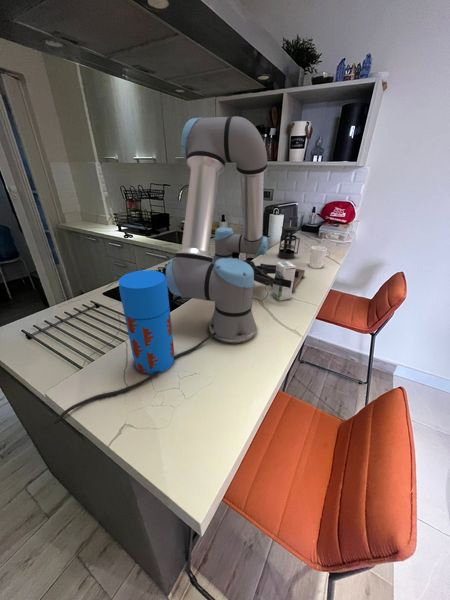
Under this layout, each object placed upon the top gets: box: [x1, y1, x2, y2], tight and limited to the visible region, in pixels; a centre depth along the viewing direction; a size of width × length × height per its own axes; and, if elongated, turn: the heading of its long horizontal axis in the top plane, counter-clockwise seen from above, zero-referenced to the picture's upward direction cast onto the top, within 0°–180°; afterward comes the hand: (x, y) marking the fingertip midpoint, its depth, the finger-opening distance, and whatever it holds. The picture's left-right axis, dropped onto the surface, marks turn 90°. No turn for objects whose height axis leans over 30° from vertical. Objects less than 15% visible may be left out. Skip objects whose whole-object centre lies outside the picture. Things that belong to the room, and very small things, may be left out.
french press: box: [277, 215, 301, 260], centre depth 146 cm, size 12×9×23 cm
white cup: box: [309, 245, 328, 269], centre depth 136 cm, size 8×8×10 cm
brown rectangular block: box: [291, 268, 306, 294], centre depth 118 cm, size 20×8×4 cm, turn 151°
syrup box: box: [272, 261, 297, 302], centre depth 103 cm, size 6×6×14 cm
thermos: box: [118, 269, 175, 375], centre depth 66 cm, size 11×11×25 cm
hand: (294, 279), depth 100 cm, fingers open, 10 cm apart
